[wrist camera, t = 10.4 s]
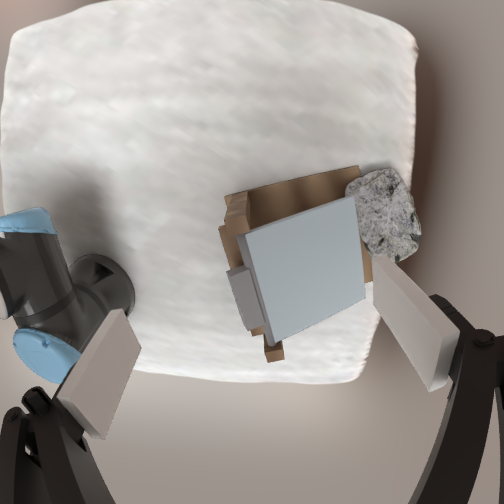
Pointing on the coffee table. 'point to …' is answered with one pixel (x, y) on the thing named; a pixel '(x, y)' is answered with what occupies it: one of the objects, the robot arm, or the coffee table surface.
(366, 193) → the rock
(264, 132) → the coffee table surface
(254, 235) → the trapdoor
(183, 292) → the coffee table surface
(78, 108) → the coffee table surface
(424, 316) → the robot arm
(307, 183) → the frame
